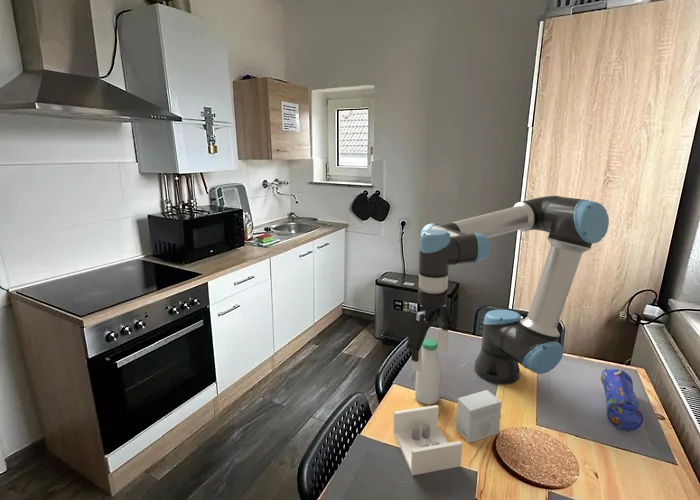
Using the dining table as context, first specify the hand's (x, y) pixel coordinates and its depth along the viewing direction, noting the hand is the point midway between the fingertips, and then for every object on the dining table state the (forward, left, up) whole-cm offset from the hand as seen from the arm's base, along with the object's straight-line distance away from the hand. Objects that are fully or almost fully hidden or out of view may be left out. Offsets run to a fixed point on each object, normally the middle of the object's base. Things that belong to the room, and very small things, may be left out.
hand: (429, 359), depth 106 cm
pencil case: (-60, +7, -22) cm, 64 cm away
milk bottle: (-5, -11, -22) cm, 25 cm away
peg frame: (+4, +9, -21) cm, 23 cm away
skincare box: (-13, +6, -22) cm, 26 cm away
